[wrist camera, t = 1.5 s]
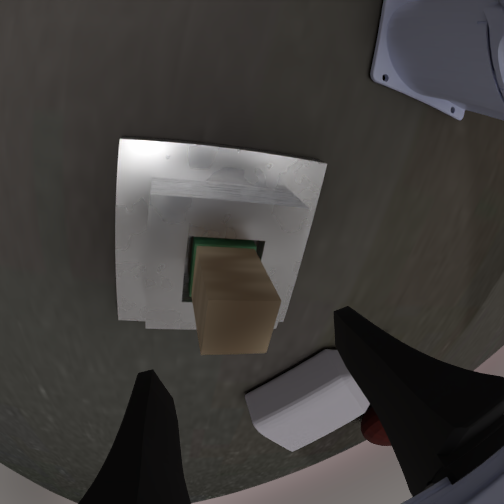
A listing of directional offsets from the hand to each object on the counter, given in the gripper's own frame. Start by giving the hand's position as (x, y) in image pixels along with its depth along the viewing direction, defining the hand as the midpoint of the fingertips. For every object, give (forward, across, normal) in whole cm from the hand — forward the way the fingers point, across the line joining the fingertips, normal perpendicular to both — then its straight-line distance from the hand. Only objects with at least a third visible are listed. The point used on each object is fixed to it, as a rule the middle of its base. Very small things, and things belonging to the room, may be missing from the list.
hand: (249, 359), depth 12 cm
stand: (+10, 0, 0) cm, 10 cm away
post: (+9, 0, 0) cm, 9 cm away
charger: (+11, -7, +18) cm, 22 cm away
